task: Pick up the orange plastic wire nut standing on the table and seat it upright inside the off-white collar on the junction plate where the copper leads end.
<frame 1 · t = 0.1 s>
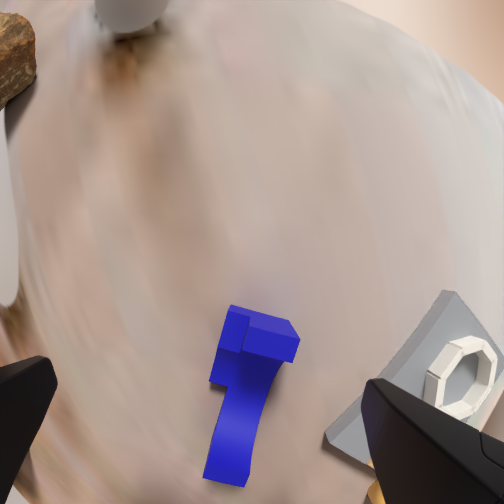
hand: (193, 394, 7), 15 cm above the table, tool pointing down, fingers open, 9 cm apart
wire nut: (384, 487, 22), on the table
rough brown rock: (6, 86, 24), on the table
junction plate: (425, 395, 22), on the table
cable clip: (238, 381, 23), on the table
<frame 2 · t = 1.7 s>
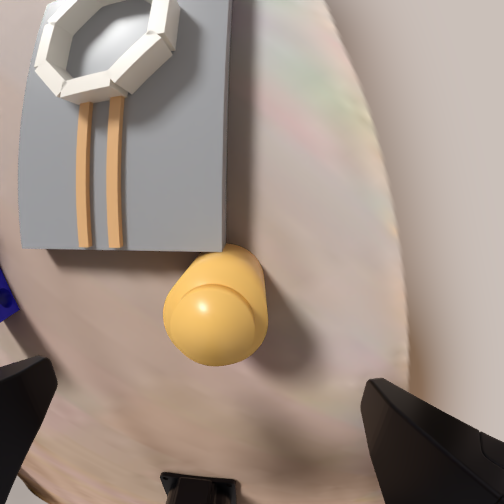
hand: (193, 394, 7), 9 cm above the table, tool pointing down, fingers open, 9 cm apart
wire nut: (226, 280, 16), on the table
junction plate: (120, 99, 14), on the table
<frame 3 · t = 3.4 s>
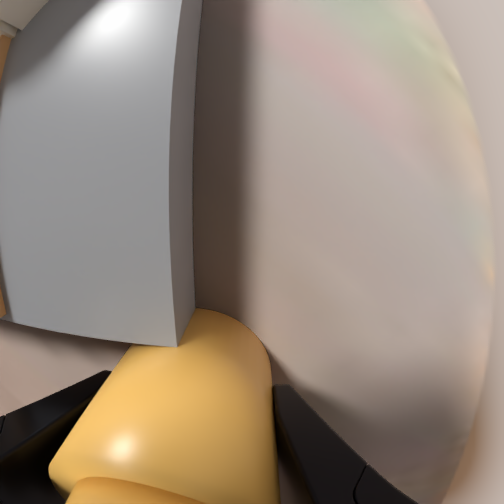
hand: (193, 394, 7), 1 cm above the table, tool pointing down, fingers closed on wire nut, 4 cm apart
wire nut: (200, 371, 8), on the table, touching gripper, junction plate
junction plate: (27, 53, 6), on the table
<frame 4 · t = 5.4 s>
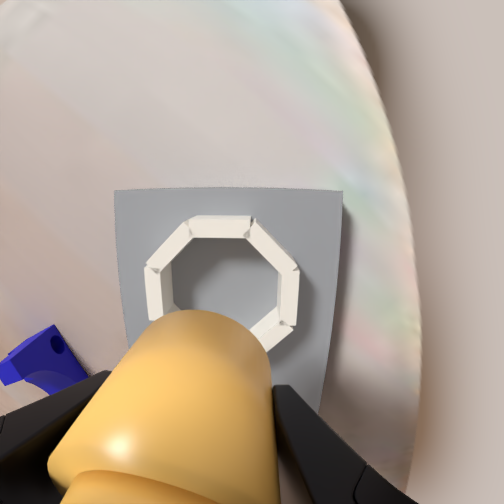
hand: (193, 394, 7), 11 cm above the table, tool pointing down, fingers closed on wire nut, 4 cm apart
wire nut: (200, 373, 8), point 10 cm above the table, touching gripper
junction plate: (227, 320, 18), on the table
cable clip: (81, 389, 20), on the table
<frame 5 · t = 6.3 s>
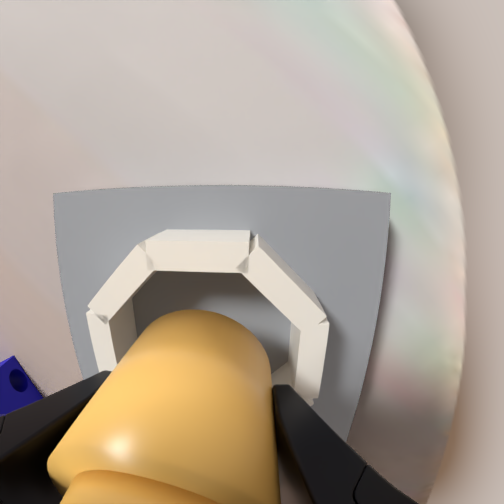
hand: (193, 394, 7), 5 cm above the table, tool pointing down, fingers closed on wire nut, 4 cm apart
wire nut: (200, 373, 8), point 4 cm above the table, touching gripper
junction plate: (218, 369, 13), on the table
cable clip: (53, 427, 15), on the table
when the fingers open (4 cm above the table, at t = 7.2 s): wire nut drops 1 cm, resting on junction plate.
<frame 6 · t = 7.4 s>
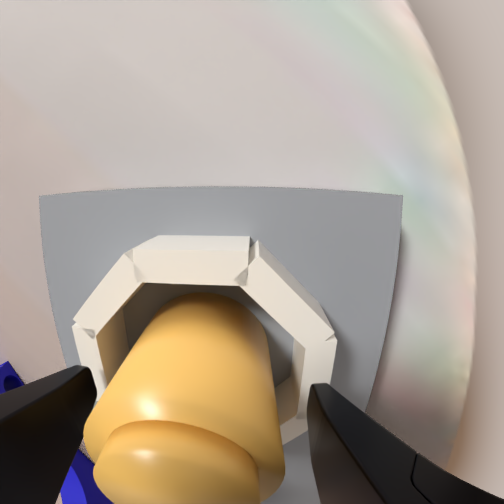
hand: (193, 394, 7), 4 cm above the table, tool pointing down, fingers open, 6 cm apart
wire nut: (206, 349, 9), point 2 cm above the table, touching junction plate
junction plate: (216, 382, 12), on the table
cable clip: (51, 434, 14), on the table
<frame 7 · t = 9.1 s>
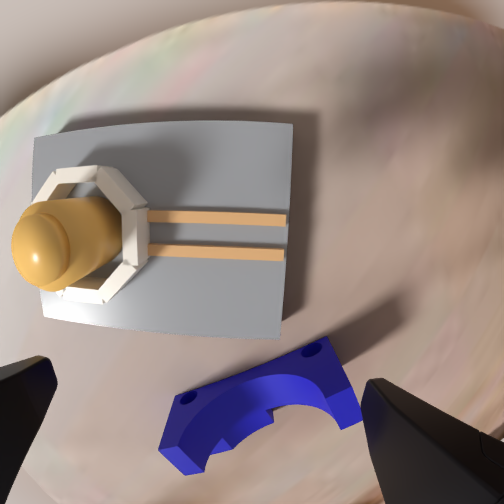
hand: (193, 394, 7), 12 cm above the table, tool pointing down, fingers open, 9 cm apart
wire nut: (94, 231, 16), point 2 cm above the table, touching junction plate
junction plate: (150, 227, 18), on the table
cable clip: (260, 389, 21), on the table
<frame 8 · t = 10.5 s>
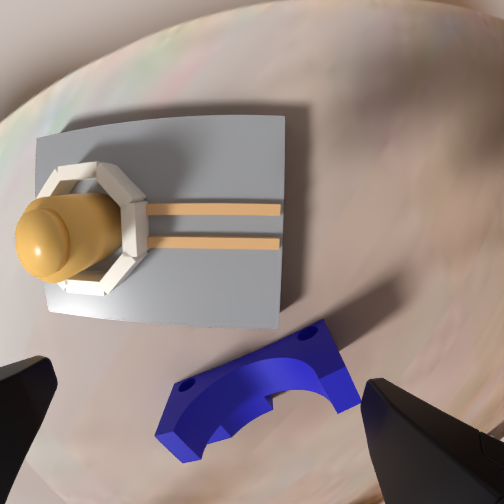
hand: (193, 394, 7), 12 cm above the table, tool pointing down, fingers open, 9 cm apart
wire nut: (96, 225, 16), point 2 cm above the table, touching junction plate
junction plate: (150, 221, 18), on the table
cable clip: (258, 375, 21), on the table
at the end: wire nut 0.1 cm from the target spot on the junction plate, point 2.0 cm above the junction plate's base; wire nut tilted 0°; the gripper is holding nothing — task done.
